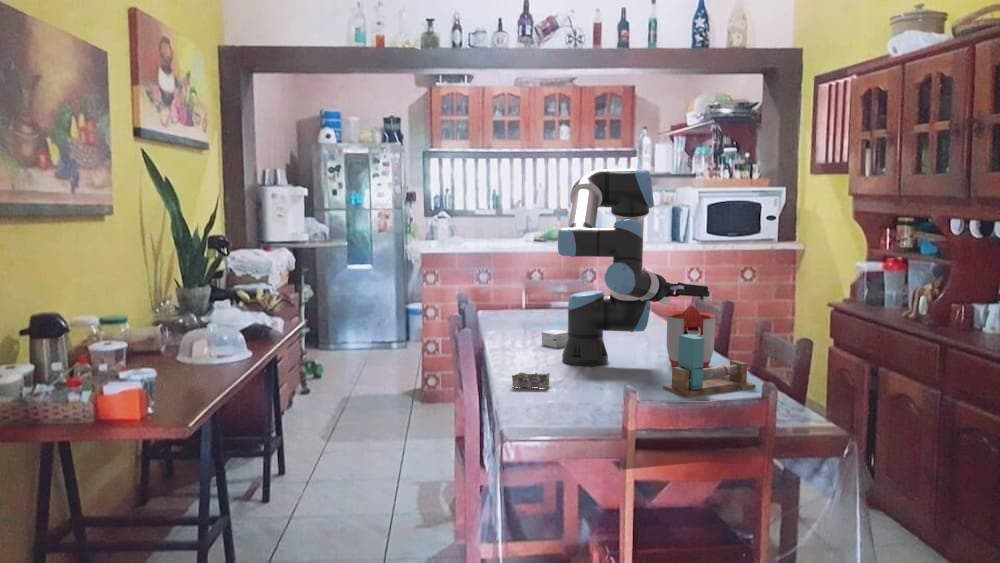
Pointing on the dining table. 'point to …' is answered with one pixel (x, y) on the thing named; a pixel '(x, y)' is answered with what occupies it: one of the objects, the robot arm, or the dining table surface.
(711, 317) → the citrus juicer
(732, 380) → the rail
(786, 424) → the dining table surface
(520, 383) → the egg carton
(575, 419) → the dining table surface
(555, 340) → the small box
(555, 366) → the dining table surface
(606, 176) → the robot arm
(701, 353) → the collar
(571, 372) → the dining table surface
